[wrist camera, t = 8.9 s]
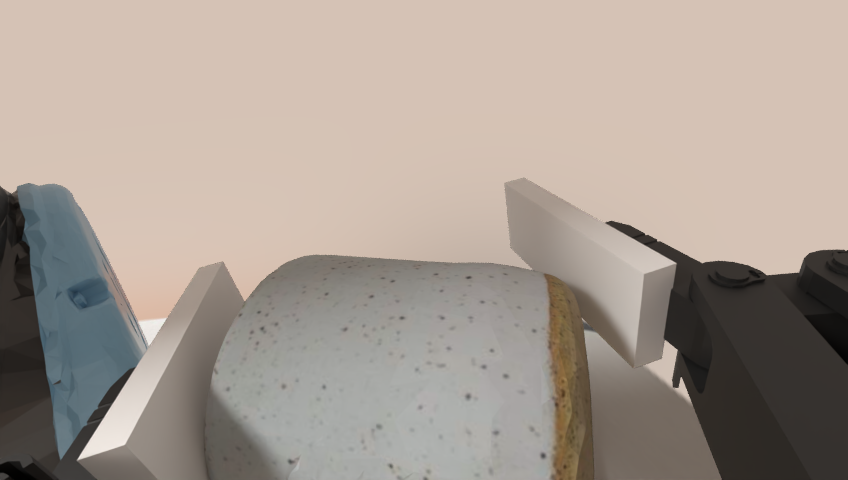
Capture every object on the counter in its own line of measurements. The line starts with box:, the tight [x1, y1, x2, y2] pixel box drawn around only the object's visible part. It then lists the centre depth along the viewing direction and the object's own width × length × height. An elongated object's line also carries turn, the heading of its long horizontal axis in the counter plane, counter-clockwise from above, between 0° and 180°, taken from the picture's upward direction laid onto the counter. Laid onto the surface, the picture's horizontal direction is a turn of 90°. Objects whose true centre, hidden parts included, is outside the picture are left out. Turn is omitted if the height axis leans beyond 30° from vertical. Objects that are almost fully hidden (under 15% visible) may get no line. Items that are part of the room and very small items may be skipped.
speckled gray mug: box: [204, 255, 594, 480], centre depth 12 cm, size 11×8×8 cm
